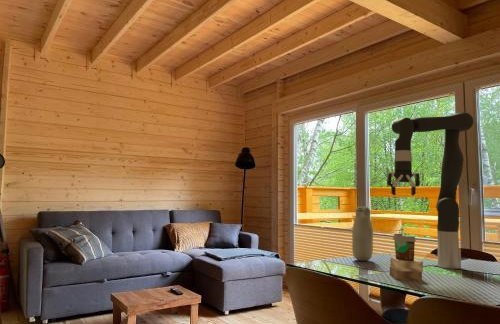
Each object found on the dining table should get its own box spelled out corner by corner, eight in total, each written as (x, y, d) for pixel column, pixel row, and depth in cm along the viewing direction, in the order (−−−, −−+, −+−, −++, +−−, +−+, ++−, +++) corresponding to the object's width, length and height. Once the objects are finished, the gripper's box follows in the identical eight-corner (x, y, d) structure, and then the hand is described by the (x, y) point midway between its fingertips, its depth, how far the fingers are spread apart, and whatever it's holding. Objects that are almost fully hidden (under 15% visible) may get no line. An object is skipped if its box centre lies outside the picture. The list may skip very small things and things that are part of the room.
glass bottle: (349, 260, 206) (349, 206, 208) (358, 258, 213) (358, 205, 216) (367, 263, 199) (367, 206, 201) (376, 260, 207) (375, 206, 209)
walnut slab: (413, 276, 171) (413, 267, 171) (422, 281, 161) (421, 271, 161) (389, 275, 172) (389, 266, 172) (396, 280, 162) (396, 270, 162)
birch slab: (414, 267, 171) (414, 257, 171) (423, 271, 161) (422, 261, 161) (390, 266, 172) (390, 257, 172) (397, 270, 162) (397, 260, 162)
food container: (387, 256, 172) (387, 233, 173) (401, 256, 173) (401, 233, 174) (400, 261, 160) (400, 236, 161) (415, 261, 161) (415, 236, 161)
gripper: (415, 161, 191) (416, 195, 189) (385, 161, 192) (385, 195, 190) (421, 160, 183) (422, 195, 182) (389, 159, 184) (390, 195, 183)
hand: (403, 195), depth 186 cm, fingers open, 8 cm apart
